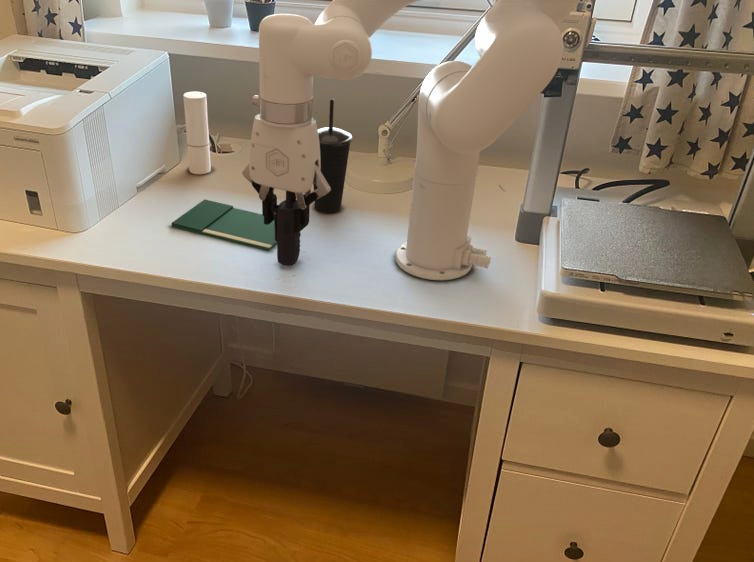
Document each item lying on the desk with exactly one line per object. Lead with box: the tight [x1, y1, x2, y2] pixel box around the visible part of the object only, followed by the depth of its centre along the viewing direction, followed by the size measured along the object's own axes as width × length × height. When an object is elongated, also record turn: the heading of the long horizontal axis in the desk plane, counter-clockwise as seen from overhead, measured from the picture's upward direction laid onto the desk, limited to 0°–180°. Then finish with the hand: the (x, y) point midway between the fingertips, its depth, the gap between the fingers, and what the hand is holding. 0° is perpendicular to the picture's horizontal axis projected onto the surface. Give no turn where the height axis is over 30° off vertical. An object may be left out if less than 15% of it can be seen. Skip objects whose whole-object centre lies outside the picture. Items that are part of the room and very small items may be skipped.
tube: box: [182, 90, 212, 175], centre depth 148 cm, size 4×4×15 cm
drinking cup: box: [312, 98, 353, 214], centre depth 135 cm, size 8×8×20 cm
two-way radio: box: [271, 190, 302, 267], centre depth 118 cm, size 6×4×15 cm
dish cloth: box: [171, 199, 277, 251], centre depth 133 cm, size 19×11×1 cm, turn 67°
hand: (285, 223), depth 119 cm, fingers closed on two-way radio, 4 cm apart
